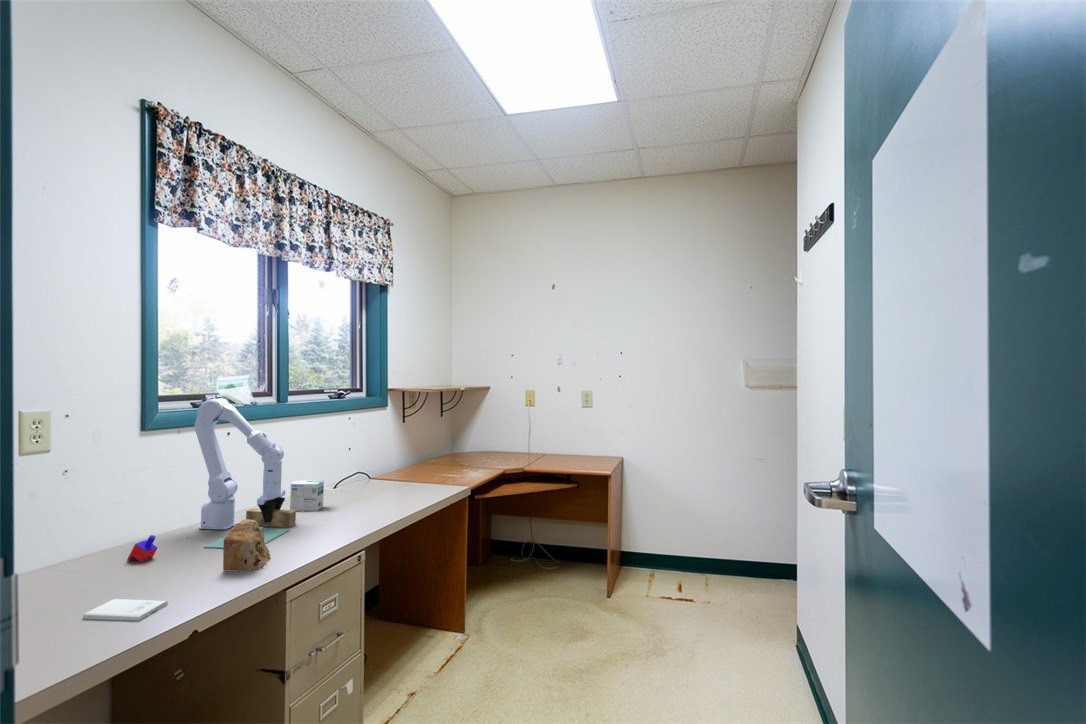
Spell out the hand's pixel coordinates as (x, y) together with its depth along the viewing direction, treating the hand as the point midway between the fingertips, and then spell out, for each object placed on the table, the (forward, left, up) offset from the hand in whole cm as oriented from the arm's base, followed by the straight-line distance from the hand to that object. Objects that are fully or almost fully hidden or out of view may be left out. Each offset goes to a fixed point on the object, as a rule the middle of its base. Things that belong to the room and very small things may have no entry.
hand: (270, 520), depth 185 cm
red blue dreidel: (-16, -37, -2) cm, 40 cm away
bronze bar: (0, 0, -2) cm, 2 cm away
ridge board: (+2, -16, -1) cm, 16 cm away
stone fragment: (+15, -36, -2) cm, 39 cm away
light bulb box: (+2, +22, -2) cm, 22 cm away
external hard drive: (+6, -68, -2) cm, 68 cm away
